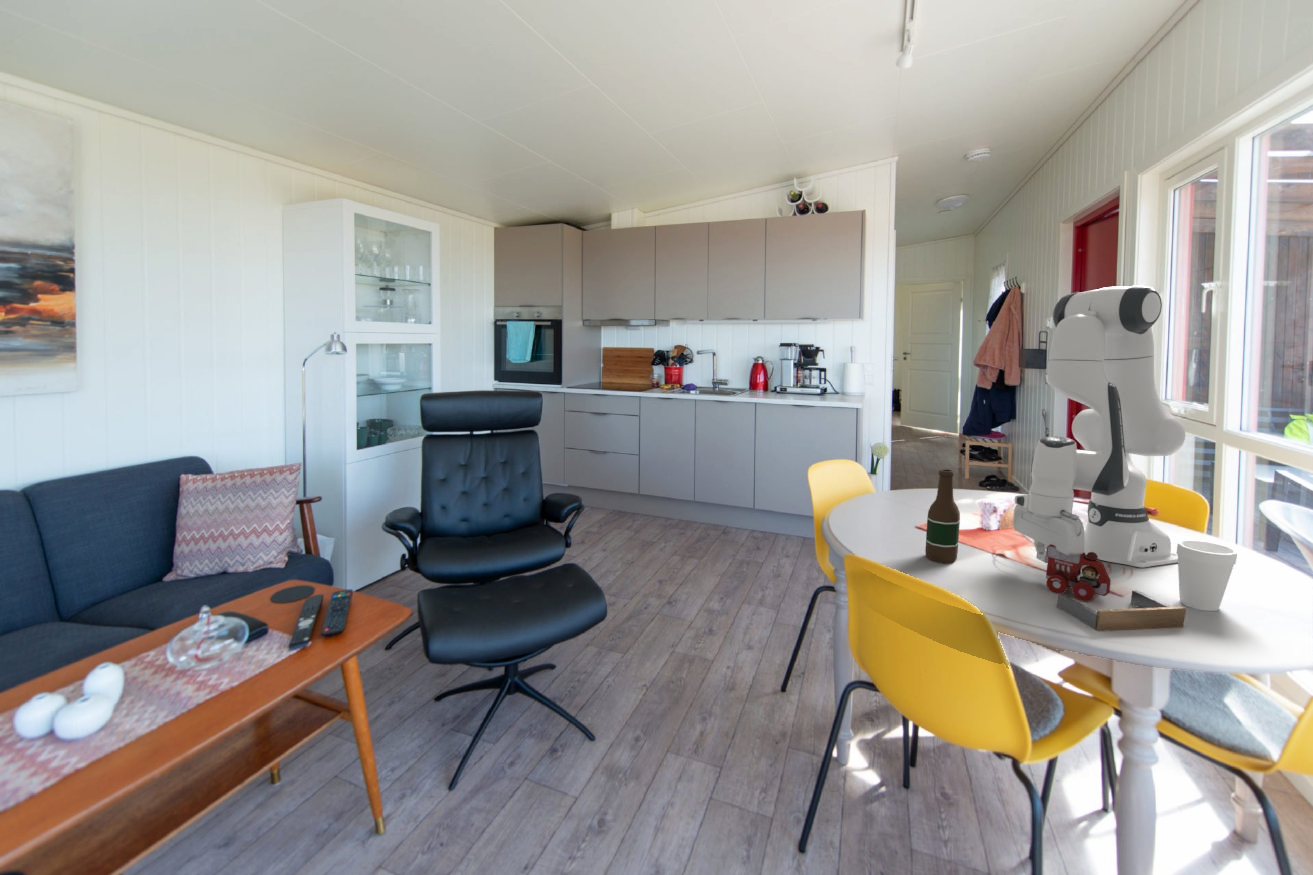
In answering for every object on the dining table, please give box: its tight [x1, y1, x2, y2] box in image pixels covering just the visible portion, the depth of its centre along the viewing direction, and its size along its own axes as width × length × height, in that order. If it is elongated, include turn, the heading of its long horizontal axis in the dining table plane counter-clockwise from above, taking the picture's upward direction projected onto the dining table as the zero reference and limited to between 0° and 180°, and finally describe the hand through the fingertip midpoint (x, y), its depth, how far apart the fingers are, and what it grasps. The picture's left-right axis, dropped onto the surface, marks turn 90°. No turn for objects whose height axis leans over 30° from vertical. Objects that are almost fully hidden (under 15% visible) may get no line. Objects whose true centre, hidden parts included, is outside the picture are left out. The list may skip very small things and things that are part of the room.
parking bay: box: [1056, 589, 1187, 632], centre depth 123 cm, size 18×11×4 cm, turn 94°
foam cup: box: [1176, 539, 1238, 612], centre depth 127 cm, size 10×9×13 cm
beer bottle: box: [924, 468, 961, 564], centre depth 155 cm, size 8×8×24 cm
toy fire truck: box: [1045, 544, 1112, 602], centre depth 134 cm, size 7×12×10 cm, turn 38°
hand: (1043, 560), depth 143 cm, fingers closed
